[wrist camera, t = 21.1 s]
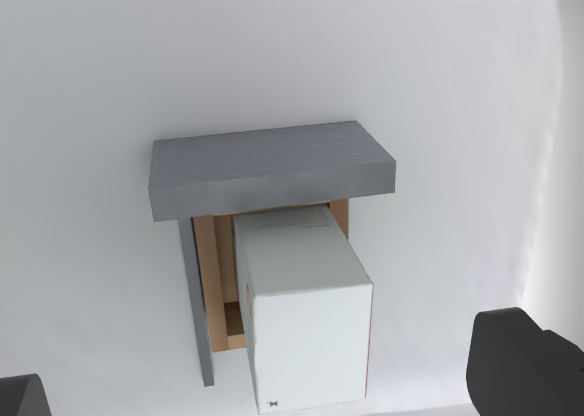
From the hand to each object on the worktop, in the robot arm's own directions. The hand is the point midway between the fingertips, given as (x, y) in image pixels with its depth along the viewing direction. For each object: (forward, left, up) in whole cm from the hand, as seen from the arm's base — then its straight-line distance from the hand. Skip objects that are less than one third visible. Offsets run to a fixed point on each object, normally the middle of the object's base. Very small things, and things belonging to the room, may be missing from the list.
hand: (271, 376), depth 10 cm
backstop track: (+3, -15, -28) cm, 32 cm away
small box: (+4, -12, -27) cm, 30 cm away
